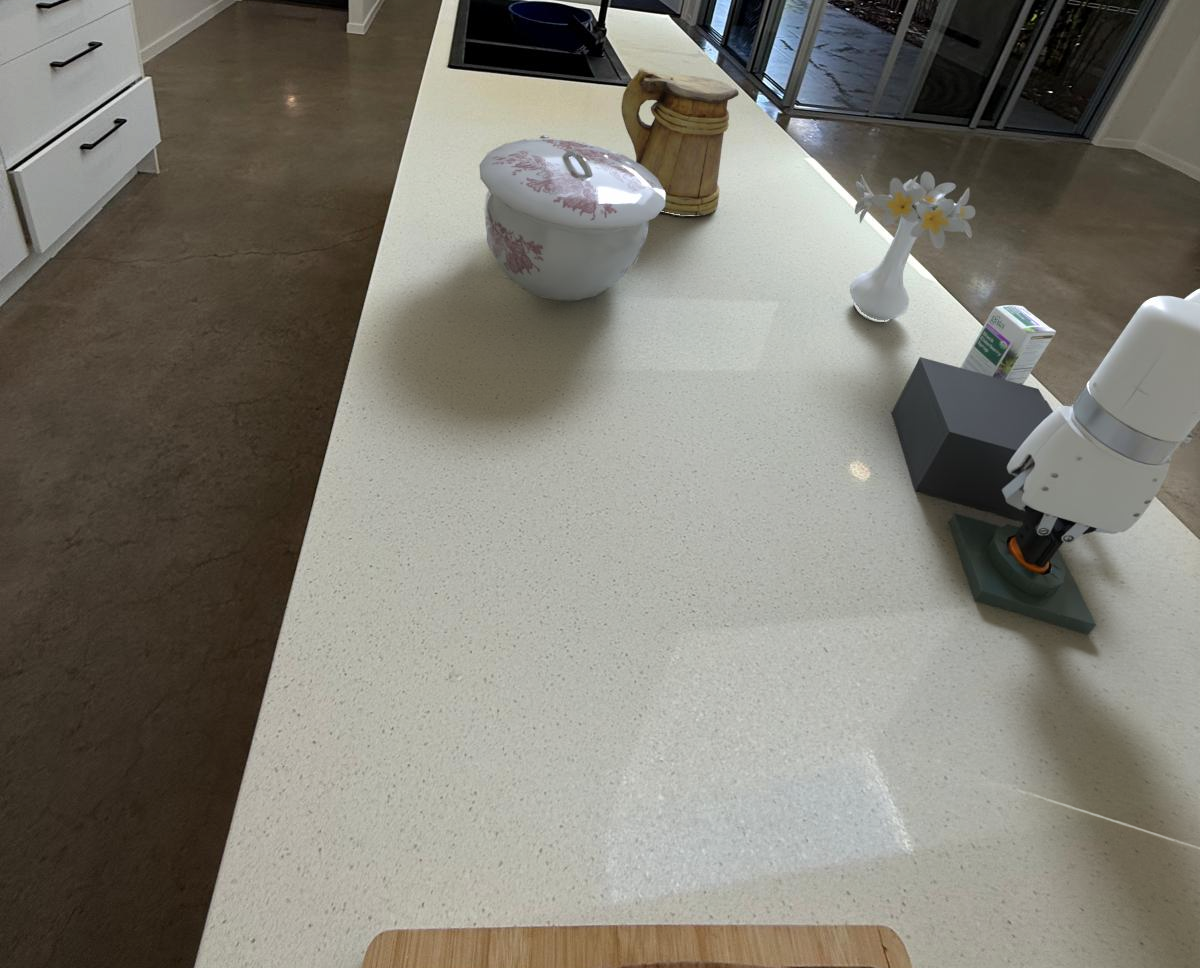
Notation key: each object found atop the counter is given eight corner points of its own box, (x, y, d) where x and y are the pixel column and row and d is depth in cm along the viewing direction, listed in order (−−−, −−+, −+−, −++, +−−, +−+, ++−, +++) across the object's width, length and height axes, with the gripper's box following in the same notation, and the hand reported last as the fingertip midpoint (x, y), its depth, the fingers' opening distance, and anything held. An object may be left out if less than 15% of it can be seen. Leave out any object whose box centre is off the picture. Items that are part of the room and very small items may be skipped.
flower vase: (804, 281, 114) (855, 152, 103) (904, 297, 116) (964, 171, 105) (828, 329, 102) (888, 189, 92) (939, 346, 104) (1010, 210, 93)
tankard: (724, 225, 127) (761, 106, 116) (605, 206, 125) (632, 82, 114) (708, 183, 143) (740, 75, 132) (603, 166, 141) (626, 54, 130)
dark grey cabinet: (1003, 443, 87) (1038, 388, 82) (1044, 529, 75) (1088, 470, 71) (890, 412, 88) (919, 356, 84) (914, 492, 76) (949, 431, 72)
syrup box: (948, 384, 96) (992, 305, 89) (977, 381, 98) (1023, 303, 92) (978, 414, 91) (1027, 333, 85) (1009, 410, 93) (1059, 330, 87)
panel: (1048, 551, 72) (1063, 531, 71) (1088, 635, 64) (1106, 614, 63) (947, 522, 73) (960, 501, 72) (974, 601, 65) (989, 579, 64)
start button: (1032, 552, 69) (1040, 542, 69) (1047, 585, 66) (1055, 574, 65) (997, 542, 70) (1005, 532, 69) (1010, 574, 66) (1018, 563, 66)
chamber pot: (611, 355, 87) (645, 223, 78) (431, 286, 93) (444, 155, 84) (661, 257, 112) (691, 148, 103) (516, 207, 118) (532, 100, 109)
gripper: (1184, 416, 62) (1085, 541, 70) (1023, 372, 63) (943, 500, 71) (1239, 481, 55) (1122, 611, 63) (1057, 430, 57) (966, 564, 64)
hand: (1028, 552), depth 67 cm, fingers closed
